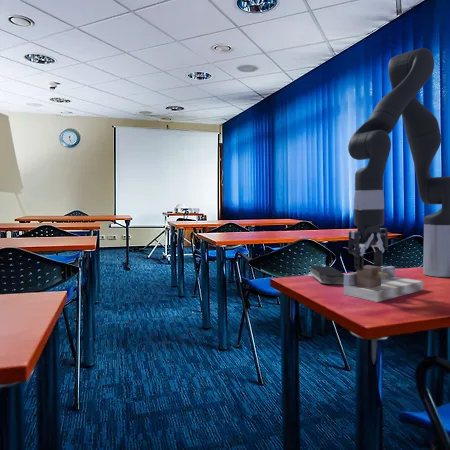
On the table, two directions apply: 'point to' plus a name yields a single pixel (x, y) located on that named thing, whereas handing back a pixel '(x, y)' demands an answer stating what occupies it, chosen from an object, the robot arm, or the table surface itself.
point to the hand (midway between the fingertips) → (368, 267)
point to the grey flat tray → (388, 287)
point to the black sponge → (327, 275)
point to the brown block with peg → (370, 276)
